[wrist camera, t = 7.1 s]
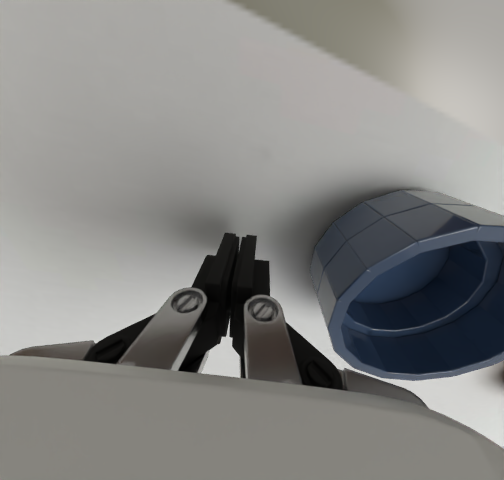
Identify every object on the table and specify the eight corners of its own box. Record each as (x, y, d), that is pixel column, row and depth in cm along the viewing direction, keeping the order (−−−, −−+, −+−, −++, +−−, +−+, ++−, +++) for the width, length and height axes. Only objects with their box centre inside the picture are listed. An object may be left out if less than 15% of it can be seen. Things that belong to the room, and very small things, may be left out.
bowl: (324, 183, 11) (364, 219, 7) (500, 191, 11) (664, 235, 6) (299, 303, 15) (313, 372, 11) (422, 312, 15) (486, 387, 11)
